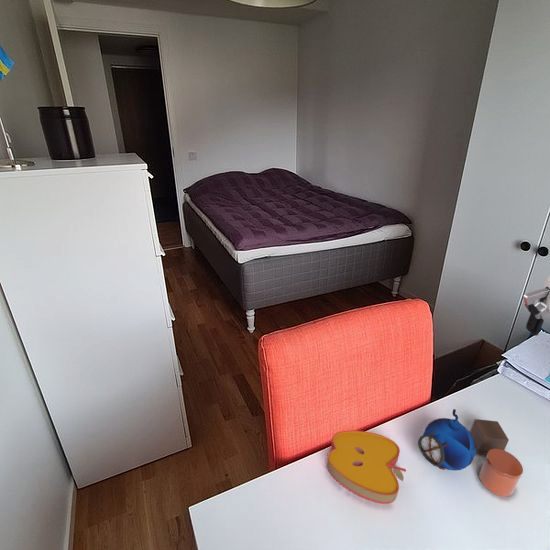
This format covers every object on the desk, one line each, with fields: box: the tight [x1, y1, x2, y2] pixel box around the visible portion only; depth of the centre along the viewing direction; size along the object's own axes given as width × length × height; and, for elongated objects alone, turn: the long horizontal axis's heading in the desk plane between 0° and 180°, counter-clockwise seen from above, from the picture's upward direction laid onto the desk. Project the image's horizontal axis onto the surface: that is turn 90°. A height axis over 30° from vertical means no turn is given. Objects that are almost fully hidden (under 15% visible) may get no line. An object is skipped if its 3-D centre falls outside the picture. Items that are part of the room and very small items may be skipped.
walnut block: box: [469, 418, 510, 455], centre depth 76 cm, size 5×5×5 cm
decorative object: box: [326, 429, 407, 505], centre depth 70 cm, size 14×4×15 cm
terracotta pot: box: [478, 449, 524, 498], centre depth 68 cm, size 6×6×6 cm
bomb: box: [417, 408, 477, 471], centre depth 70 cm, size 10×11×15 cm
